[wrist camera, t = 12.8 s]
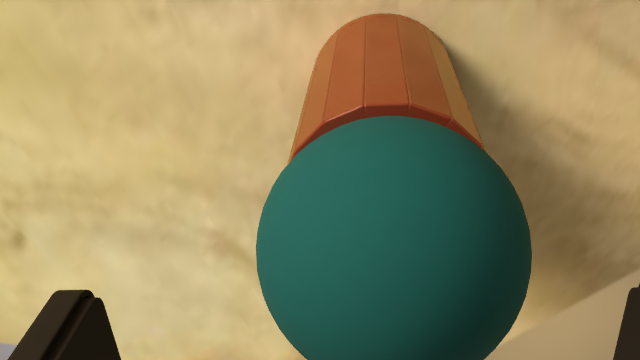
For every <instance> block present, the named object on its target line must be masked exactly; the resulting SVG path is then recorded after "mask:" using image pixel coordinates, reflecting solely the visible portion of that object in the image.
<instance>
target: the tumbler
mask: <svg viewBox="0 0 640 360" xmlns="http://www.w3.org/2000/svg"><path fill="white" fill-rule="evenodd" d="M380 116H406V117H412V118H419V119H423V120H427V121H430V122H434V123H437V124H440V125H442V126H444V127H447V128H449V129H451V130H454V131H456V132H458V133H459V134H461V135H463V136H464V137H466V138H468V139H469V140H471V141H472V142H474V143H475V144H476V145H477V146H479V147H480V148H481V149H483V150H484V151H485V152H486V150H485V148H484V145H483V142H482V140H481V137H480V135H479V132H478V130H477V127H476V124H475V122H474V119H473V117H472V114H471V112H470V109H469V106H468V104H467V101H466V99H465V96H464V93H463V91H462V88H461V86H460V83H459V81H458V78H457V75H456V73H455V70H454V68H453V65H452V63H451V60H450V58H449V55H448V53H447V50H446V48H445V47H444V45H443V44H442V43H441V41H440V40H439V38H438V37H437V36H436V35H435V34H434V33H433V32H432V31H431V30H429V29H428V28H427V27H426V26H424V25H423V24H421V23H419V22H418V21H415V20H413V19H411V18H408V17H405V16H401V15H396V14H373V15H368V16H364V17H361V18H358V19H355V20H353V21H351V22H349V23H347V24H346V25H344V26H343V27H341V28H340V29H339V30H337V31H336V32H335V33H334V34H333V35H332V36H331V37H330V38H329V39H328V40H327V42H326V43H325V44H324V46H323V47H322V49H321V51H320V53H319V55H318V57H317V60H316V63H315V66H314V69H313V72H312V75H311V78H310V82H309V85H308V89H307V93H306V97H305V100H304V104H303V108H302V112H301V115H300V119H299V123H298V127H297V130H296V134H295V138H294V141H293V145H292V149H291V153H290V156H289V160H288V164H289V163H290V162H291V161H292V159H293V158H294V157H295V156H296V155H297V154H298V153H299V152H300V151H301V150H302V149H304V148H305V147H306V146H307V145H308V144H310V143H311V142H313V141H314V140H316V139H317V138H319V137H320V136H322V135H323V134H325V133H327V132H329V131H331V130H333V129H335V128H337V127H339V126H342V125H344V124H347V123H350V122H353V121H356V120H361V119H366V118H370V117H380ZM288 164H287V165H288Z"/></svg>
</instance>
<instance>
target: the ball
mask: <svg viewBox="0 0 640 360" xmlns="http://www.w3.org/2000/svg"><path fill="white" fill-rule="evenodd" d="M256 256H257V272H258V276H259V280H260V285H261V289H262V293H263V296H264V299H265V301H266V304H267V306H268V309H269V311H270V313H271V315H272V317H273V318H274V320H275V322H276V324H277V325H278V327H279V329H280V330H281V332H282V333H283V334H284V335H285V337H286V338H287V339H288V341H289V342H290V343H291V344H292V345H293V346H294V347H295V348H296V349H297V350H298V351H299V352H300V353H301V354H302V355H303V356H304V357H305V358H306V359H307V360H484V359H485V358H486V357H487V356H488V355H489V354H490V353H491V352H492V351H493V350H494V349H495V348H496V347H497V346H498V345H499V343H500V342H501V341H502V340H503V338H504V337H505V336H506V335H507V333H508V332H509V331H510V329H511V327H512V325H513V324H514V322H515V320H516V318H517V316H518V314H519V312H520V310H521V307H522V305H523V302H524V299H525V297H526V293H527V288H528V283H529V279H530V274H531V260H532V251H531V239H530V230H529V226H528V223H527V219H526V216H525V212H524V209H523V206H522V203H521V201H520V199H519V197H518V195H517V193H516V191H515V189H514V187H513V185H512V184H511V182H510V180H509V179H508V178H507V176H506V175H505V173H504V172H503V170H502V169H501V168H500V167H499V166H498V165H497V164H496V162H495V161H494V160H493V159H492V158H491V157H490V156H489V155H488V154H487V153H486V152H485V151H484V150H483V149H481V148H480V147H479V146H477V145H476V144H475V143H474V142H472V141H471V140H469V139H468V138H466V137H464V136H463V135H461V134H459V133H458V132H456V131H454V130H451V129H449V128H447V127H444V126H442V125H440V124H437V123H434V122H430V121H427V120H423V119H419V118H412V117H406V116H380V117H370V118H366V119H361V120H356V121H353V122H350V123H347V124H344V125H342V126H339V127H337V128H335V129H333V130H331V131H329V132H327V133H325V134H323V135H322V136H320V137H319V138H317V139H316V140H314V141H313V142H311V143H310V144H308V145H307V146H306V147H305V148H304V149H302V150H301V151H300V152H299V153H298V154H297V155H296V156H295V157H294V158H293V159H292V161H291V162H290V163H289V164H288V165H287V166H286V168H285V169H284V170H283V171H282V172H281V174H280V175H279V177H278V179H277V180H276V182H275V183H274V185H273V187H272V189H271V191H270V193H269V196H268V198H267V200H266V203H265V205H264V207H263V211H262V214H261V218H260V222H259V227H258V233H257V243H256Z"/></svg>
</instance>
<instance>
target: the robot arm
mask: <svg viewBox="0 0 640 360" xmlns="http://www.w3.org/2000/svg"><path fill="white" fill-rule="evenodd" d="M8 360H121V358H120V355H119V352H118V348H117V345H116V342H115V339H114V335H113V332H112V329H111V326H110V323H109V319H108V316H107V313H106V310H105V306H104V303H103V301H102V300H101V299H100V298H95V297H94V295H93V293H92V292H91V291H90V290H59V291H56V292H55V293H54V294H53V295H52V296H51V297H50V299H49V300H48V302H47V303H46V304H45V306H44V307H43V309H42V310H41V312H40V313H39V315H38V316H37V318H36V319H35V321H34V322H33V323H32V325H31V326H30V328H29V329H28V331H27V332H26V334H25V335H24V337H23V338H22V339H21V341H20V342H19V344H18V345H17V347H16V348H15V350H14V351H13V353H12V354H11V356H10V357H9V359H8ZM613 360H640V284H639V287H637V288H632V289H631V290H630V291H629V294H628V298H627V302H626V307H625V311H624V315H623V320H622V324H621V328H620V332H619V337H618V341H617V345H616V350H615V354H614V358H613Z"/></svg>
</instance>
